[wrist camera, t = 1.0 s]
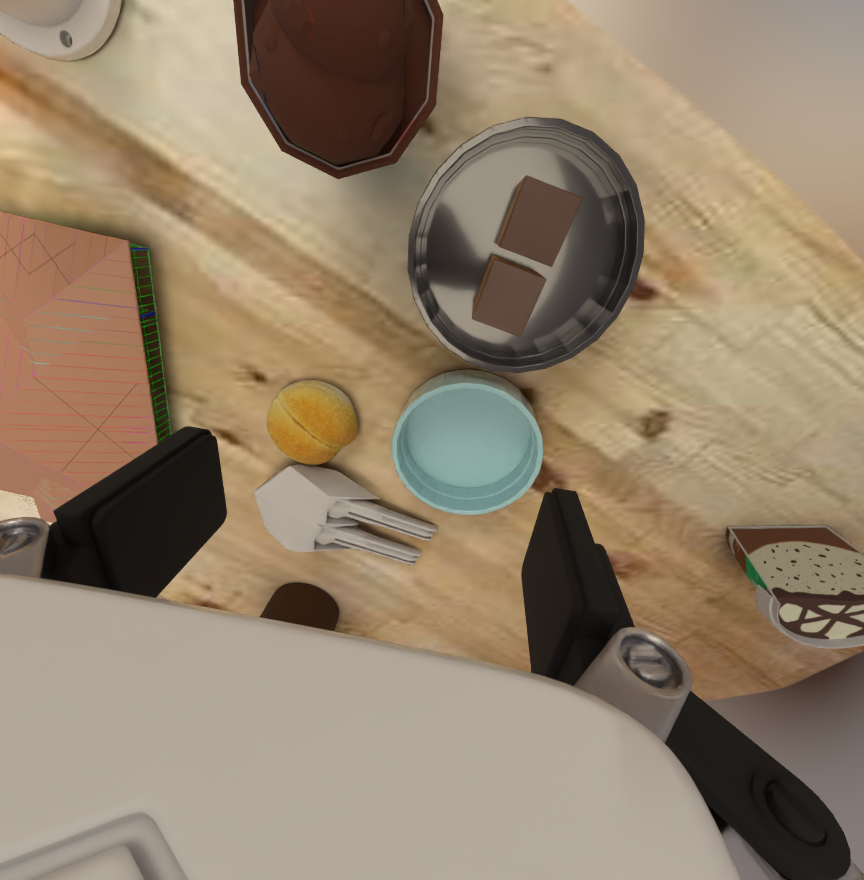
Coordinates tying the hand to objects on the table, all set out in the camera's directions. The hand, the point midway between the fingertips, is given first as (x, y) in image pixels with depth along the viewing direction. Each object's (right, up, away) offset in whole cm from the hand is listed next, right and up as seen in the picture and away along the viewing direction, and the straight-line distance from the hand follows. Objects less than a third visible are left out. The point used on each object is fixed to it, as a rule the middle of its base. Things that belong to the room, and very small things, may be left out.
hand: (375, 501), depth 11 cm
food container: (+38, -10, +32) cm, 51 cm away
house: (-37, +8, +31) cm, 49 cm away
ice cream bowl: (-2, +26, +18) cm, 32 cm away
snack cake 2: (+8, +14, +22) cm, 27 cm away
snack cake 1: (+9, +19, +20) cm, 29 cm away
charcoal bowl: (+9, +17, +21) cm, 28 cm away
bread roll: (-10, +4, +30) cm, 32 cm away
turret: (-8, -6, +35) cm, 37 cm away
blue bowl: (+5, +2, +29) cm, 30 cm away
